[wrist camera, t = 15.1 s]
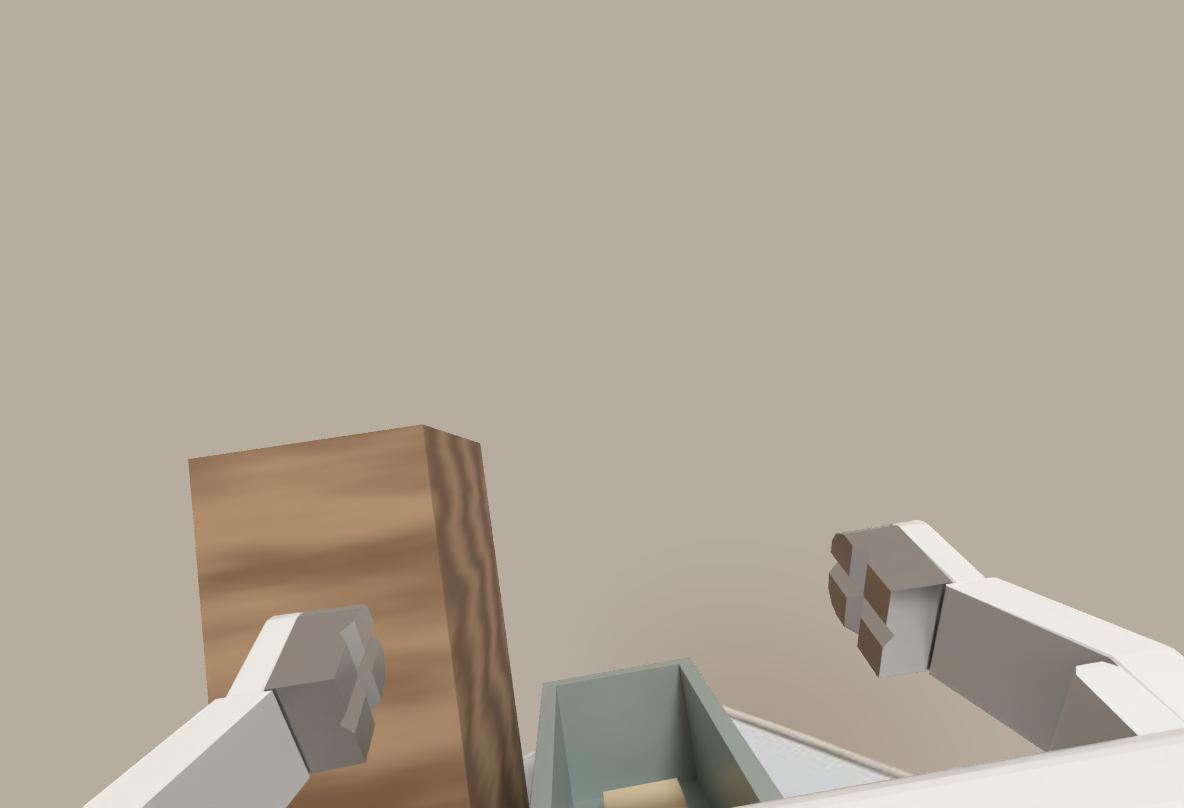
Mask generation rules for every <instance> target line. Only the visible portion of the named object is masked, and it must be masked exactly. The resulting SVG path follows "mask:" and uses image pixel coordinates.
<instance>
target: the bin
mask: <svg viewBox="0 0 1184 808" xmlns="http://www.w3.org/2000/svg"><path fill="white" fill-rule="evenodd" d="M673 778H677V779H678V782H679V785H680V787H681V790H682V793H683V795H684V798H685V801H686V803H687V806H688V808H733V807H739V806H744V805H750V804H755V803H761V802H767V801H772V800H778V799H784V798H783V796H782V795H781V793H780V792H779V790H778V789H777V787H776V786H775V784H774V783H773V781H772V780H771V778H770V777H769V775H768V774H767V772H766V771H765V769H764V768H763V766H762V765H761V763H760V762H759V760H758V759H757V757H756V756H755V754H754V753H753V751H752V750H751V748H750V747H749V745H748V744H747V742H746V741H745V739H744V738H743V736H742V735H741V734H740V732H739V731H738V729H737V728H736V726H735V725H734V723H733V722H732V720H731V719H730V717H729V716H728V714H727V713H726V711H725V710H724V708H723V707H722V705H721V704H720V702H719V701H718V699H717V698H716V696H715V695H714V693H713V692H712V690H711V689H710V687H709V686H708V684H707V683H706V681H705V680H704V678H703V677H702V675H701V674H700V672H699V671H698V669H697V668H696V666H695V665H694V663H693V662H692V660H691V659H690V657H689V658H683V659H677V660H671V661H666V662H660V663H654V664H649V665H643V666H638V667H632V668H626V669H621V670H615V671H609V672H604V673H598V674H593V675H587V676H581V677H575V678H570V679H564V680H558V681H553V682H547V683H543V688H542V697H541V707H540V716H539V726H538V735H537V745H536V754H535V764H534V773H533V783H532V793H531V802H530V808H605V804H604V796H603V792H605V791H610V790H616V789H621V788H626V787H631V786H637V785H642V784H647V783H652V782H658V781H663V780H668V779H673Z"/></svg>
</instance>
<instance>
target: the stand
mask: <svg viewBox="0 0 1184 808" xmlns="http://www.w3.org/2000/svg"><path fill="white" fill-rule="evenodd" d="M188 461H189V473H190V485H191V497H192V509H193V521H194V533H195V545H196V557H197V568H198V581H199V593H200V605H201V617H202V629H203V641H204V653H205V665H206V677H207V689H208V701H209V704H210V703H212V702H213V701H214V700H215V699H220V698H226V696H227V694H228V692H229V690H230V688H231V686H232V684H233V682H234V681H235V679H236V677H237V675H238V673H239V671H240V669H241V667H242V666H243V664H244V662H245V660H246V658H247V656H248V654H249V652H250V650H251V649H252V647H253V645H254V643H255V641H256V639H257V637H258V635H259V634H260V632H261V630H262V628H263V626H264V624H265V623H266V621H267V620H269V619H270V618H271V617H273V616H276V615H284V614H291V613H299V612H304V611H311V610H319V609H327V608H335V607H343V606H351V605H359V604H364V605H366V606H368V607H369V610H370V613H371V615H372V618H373V621H374V623H373V626H372V629H371V633H370V635H371V636H373V637H374V638H376V639H377V640H379V641H380V643H381V646H382V649H383V652H384V659H385V666H386V668H385V686H384V690H383V695H382V699H381V701H380V702H379V703H378V704H377V705H376V706H375V708H374V709H373V710H372V711H371V713H372V716H373V719H374V722H375V728H374V732H373V736H372V740H371V744H370V748H369V752H368V755H367V759H366V763H363V764H358V765H353V766H348V767H343V768H337V769H332V770H327V771H322V772H317V773H312V774H309V775H310V778H309V779H308V781H307V782H306V783H305V784H304V786H303V787H302V788H301V789H300V791H299V792H298V793H297V794H296V796H295V797H294V798H293V800H292V801H291V802H290V803H289V805H288V806H287V807H286V808H529V802H528V795H527V788H526V780H525V773H524V765H523V758H522V751H521V743H520V736H519V728H518V722H517V713H516V706H515V698H514V691H513V684H512V676H511V669H510V661H509V655H508V647H507V639H506V631H505V624H504V617H503V609H502V602H501V594H500V587H499V580H498V572H497V565H496V557H495V550H494V542H493V535H492V527H491V520H490V513H489V505H488V498H487V490H486V483H485V476H484V468H483V461H482V453H481V446H480V443H477V442H474V441H471V440H468V439H465V438H461V437H459V436H455V435H453V434H450V433H446V432H444V431H440V430H437V429H434V428H431V427H428V426H425V425H416V426H410V427H404V428H396V429H389V430H383V431H377V432H369V433H363V434H356V435H349V436H342V437H336V438H329V439H322V440H315V441H309V442H302V443H295V444H289V445H281V446H275V447H268V448H261V449H255V450H248V451H241V452H234V453H228V454H221V455H214V456H207V457H200V458H194V459H189V460H188Z"/></svg>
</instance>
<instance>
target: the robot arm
mask: <svg viewBox="0 0 1184 808" xmlns="http://www.w3.org/2000/svg"><path fill="white" fill-rule="evenodd" d="M831 553H832V554H833V556H834V557H835V559H836V560H837V561H838V562H837V564H836V565H835V566H834V567H833V569H832V570H831V571H830V572H829V593H830V597H831V602H832V605H833V608H834V610H835V612H836V615H837V616H838V618H839V619H840V621H841V622H842V624H843V626H844V627H846V628H848V629H850V630H852V631H853V632H855V633H857V634H859V637H858V646H857V647H858V648H859V650H860V651H861V653H862V654H863V656H864V657H865V658H866V660H867V661H868V663H869V664H870V666H871V667H872V669H873V670H874V672H875V673H876V675H877V676H878V678H882V677H890V676H897V675H904V674H912V673H918V672H926V671H929V674H930V675H932V676H933V677H935V678H936V679H938V680H939V681H941V682H942V683H944V684H945V685H946V686H948V687H950V688H951V689H952V690H954V691H955V692H957V693H959V694H960V695H961V696H963V697H964V698H966V699H967V700H969V701H971V702H972V703H973V704H975V705H976V706H978V707H979V708H981V709H982V710H984V711H985V712H987V713H988V714H990V715H991V716H993V717H994V718H996V719H997V720H999V721H1000V722H1002V723H1003V724H1005V725H1006V726H1008V727H1009V728H1011V729H1012V730H1014V731H1015V732H1017V733H1018V734H1020V735H1021V736H1023V737H1024V738H1026V739H1027V740H1028V741H1030V742H1031V743H1033V744H1034V745H1036V746H1037V747H1039V748H1040V749H1042V750H1043V751H1045V752H1044V753H1038V754H1032V755H1026V756H1021V757H1015V758H1009V759H1004V760H998V761H993V762H987V763H982V764H976V765H970V766H964V767H958V768H953V769H947V770H941V771H936V772H930V773H924V774H919V775H913V776H907V777H902V778H896V779H890V780H885V781H879V782H874V783H868V784H862V785H857V786H851V787H845V788H840V789H834V790H829V791H823V792H817V793H812V794H806V795H800V796H795V797H789V798H784V799H778V800H772V801H767V802H761V803H755V804H750V805H744V806H739V807H733V808H1184V657H1183V656H1182V655H1181V654H1180V653H1178V652H1177V651H1176V650H1174V649H1173V648H1171V647H1169V646H1166V645H1164V644H1161V643H1159V642H1156V641H1154V640H1151V639H1149V638H1146V637H1144V636H1141V635H1138V634H1136V633H1134V632H1131V631H1129V630H1126V629H1124V628H1121V627H1118V626H1116V625H1114V624H1111V623H1109V622H1106V621H1103V620H1101V619H1099V618H1096V617H1094V616H1091V615H1088V614H1086V613H1084V612H1081V611H1078V610H1076V609H1073V608H1071V607H1068V606H1066V605H1063V604H1061V603H1058V602H1056V601H1053V600H1051V599H1048V598H1046V597H1043V596H1041V595H1038V594H1036V593H1033V592H1031V591H1028V590H1026V589H1023V588H1020V587H1018V586H1016V585H1013V584H1011V583H1008V582H1006V581H1003V580H1000V579H998V578H996V577H992V578H985V577H984V576H983V575H982V574H980V573H979V572H978V571H977V570H976V569H975V568H974V567H973V566H972V565H971V564H970V563H969V562H968V561H967V560H966V559H965V558H963V557H962V556H961V555H960V554H959V553H958V552H957V551H956V550H955V549H954V548H953V547H952V546H951V545H949V544H948V543H947V542H946V541H945V540H944V539H943V538H942V537H941V536H940V535H939V534H937V532H935V531H934V530H933V529H932V528H931V527H930V526H929V525H928V524H927V523H925V522H923V521H921V520H913V521H907V522H901V523H896V524H891V525H889V526H881V527H875V528H868V529H862V530H856V531H849V532H843V533H836V534H835V536H834V538H833V540H832V547H831ZM373 623H374V621H373V618H372V615H371V613H370V610H369V607H368V606H366V605H364V604H359V605H351V606H343V607H335V608H327V609H319V610H311V611H304V612H299V613H291V614H284V615H276V616H273V617H271V618H270V619H269V620H267V621H266V623H265V624H264V626H263V628H262V630H261V632H260V634H259V635H258V637H257V639H256V641H255V643H254V645H253V647H252V649H251V650H250V652H249V654H248V656H247V658H246V660H245V662H244V664H243V666H242V667H241V669H240V671H239V673H238V675H237V677H236V679H235V681H234V682H233V684H232V686H231V688H230V690H229V692H228V694H227V696H226V698H220V699H215V700H214V701H213V702H212V703H210V704H209V705H208V706H207V707H206V708H204V709H203V710H202V711H200V712H199V713H198V714H197V715H195V716H194V717H193V718H192V719H191V720H189V721H188V722H187V723H186V724H184V725H183V726H182V727H181V728H179V729H178V730H177V731H176V732H175V733H173V734H172V735H171V736H170V737H168V738H167V739H166V740H165V741H163V742H162V743H161V744H160V745H159V746H157V747H156V748H155V749H154V750H152V751H151V752H150V753H149V754H147V755H146V756H145V757H144V758H142V759H141V760H140V761H139V762H138V763H136V764H135V765H134V766H133V767H131V768H130V769H129V770H128V771H126V772H125V773H124V774H123V775H121V776H120V777H119V778H118V779H117V780H115V781H114V782H113V783H112V784H110V785H109V786H108V787H107V788H105V789H104V790H103V791H102V792H100V793H99V794H98V795H97V796H96V797H94V798H93V799H92V800H91V801H89V802H88V803H87V804H86V805H84V806H83V807H82V808H286V807H287V806H288V805H289V803H290V802H291V801H292V800H293V798H294V797H295V796H296V794H297V793H298V792H299V791H300V789H301V788H302V787H303V786H304V784H305V783H306V782H307V781H308V779H309V778H310V775H309V774H312V773H317V772H322V771H327V770H332V769H337V768H343V767H348V766H353V765H358V764H363V763H366V759H367V755H368V752H369V748H370V744H371V740H372V736H373V732H374V728H375V722H374V719H373V716H372V713H371V711H372V710H373V709H374V708H375V706H376V705H377V704H378V703H379V702H380V701H381V699H382V695H383V690H384V686H385V668H386V666H385V659H384V652H383V649H382V646H381V643H380V641H379V640H377V639H376V638H374V637H373V636H371V635H370V633H371V629H372V626H373Z"/></svg>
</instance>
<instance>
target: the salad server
mask: <svg viewBox="0 0 1184 808" xmlns="http://www.w3.org/2000/svg"><path fill="white" fill-rule="evenodd" d="M603 796H604V804H605V808H688V806H687V803H686V801H685V798H684V795H683V793H682V790H681V787H680V785H679V782H678V779H677V778H673V779H668V780H663V781H658V782H652V783H647V784H642V785H637V786H631V787H626V788H621V789H616V790H610V791H605V792H603Z"/></svg>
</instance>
